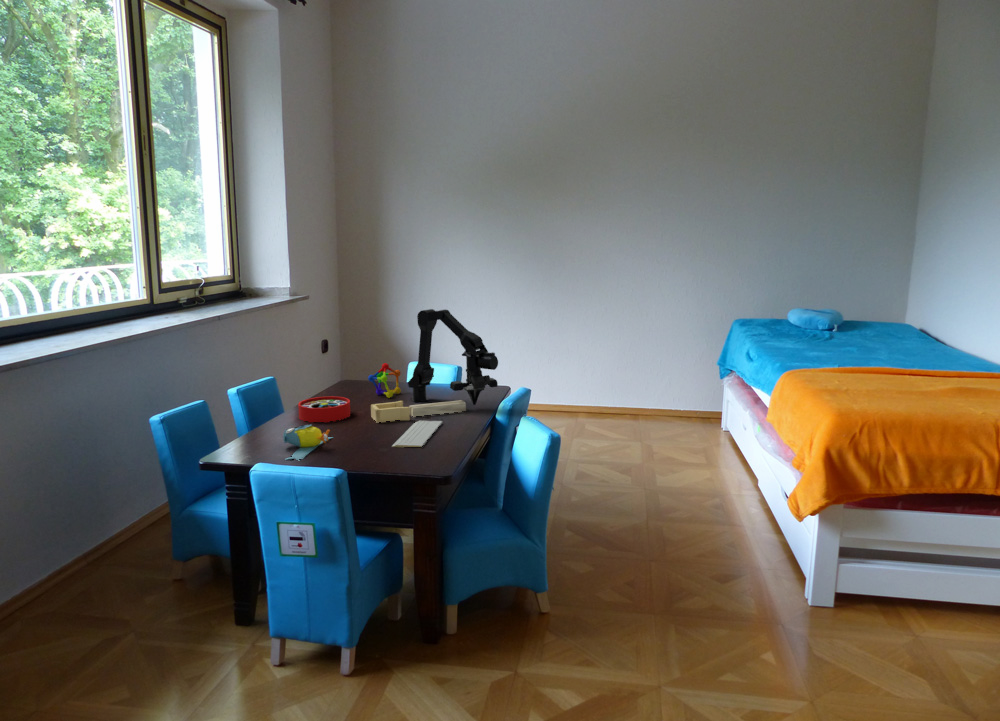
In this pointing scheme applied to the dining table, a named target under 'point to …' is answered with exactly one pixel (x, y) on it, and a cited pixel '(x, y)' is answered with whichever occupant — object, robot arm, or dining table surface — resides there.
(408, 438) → the baseboard molding
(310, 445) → the toy airplane
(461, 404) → the ash slat
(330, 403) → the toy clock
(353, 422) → the dining table surface
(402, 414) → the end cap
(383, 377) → the educational toy
